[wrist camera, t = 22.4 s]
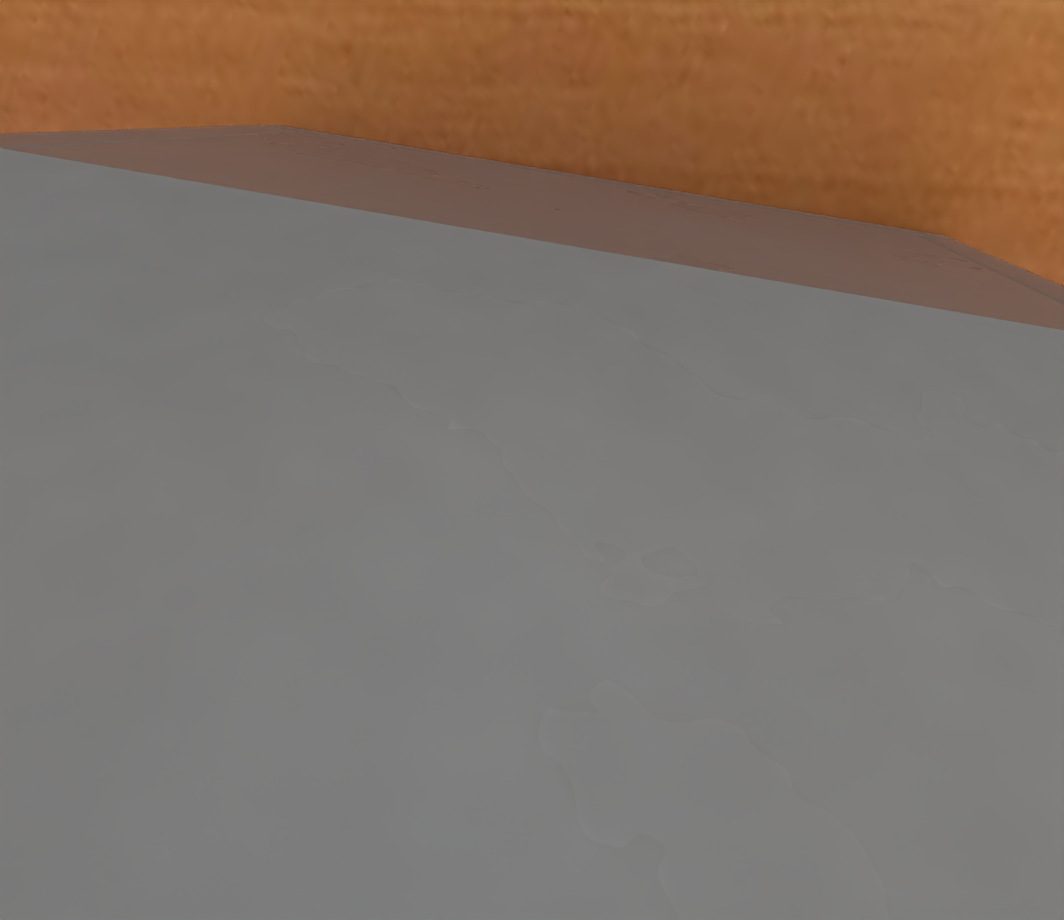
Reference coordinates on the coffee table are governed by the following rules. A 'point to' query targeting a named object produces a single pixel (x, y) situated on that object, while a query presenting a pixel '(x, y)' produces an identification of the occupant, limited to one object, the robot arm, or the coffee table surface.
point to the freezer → (576, 212)
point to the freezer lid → (508, 577)
